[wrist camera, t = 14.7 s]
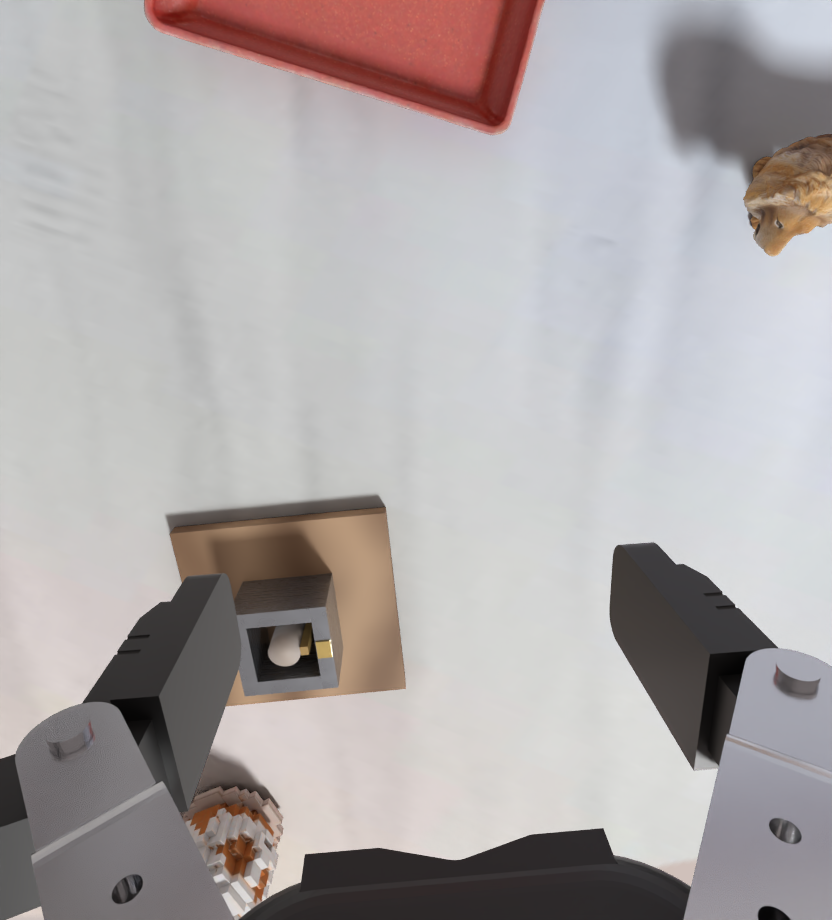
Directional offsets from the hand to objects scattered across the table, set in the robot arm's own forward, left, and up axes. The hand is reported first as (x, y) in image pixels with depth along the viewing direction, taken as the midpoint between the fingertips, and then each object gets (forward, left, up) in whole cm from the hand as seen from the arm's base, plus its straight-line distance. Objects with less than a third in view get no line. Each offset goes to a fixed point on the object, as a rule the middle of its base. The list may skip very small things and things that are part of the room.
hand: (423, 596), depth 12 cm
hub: (-9, -16, -24) cm, 30 cm away
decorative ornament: (-17, -35, -25) cm, 46 cm away
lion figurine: (+24, +7, -25) cm, 36 cm away
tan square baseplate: (-9, -16, -25) cm, 31 cm away
